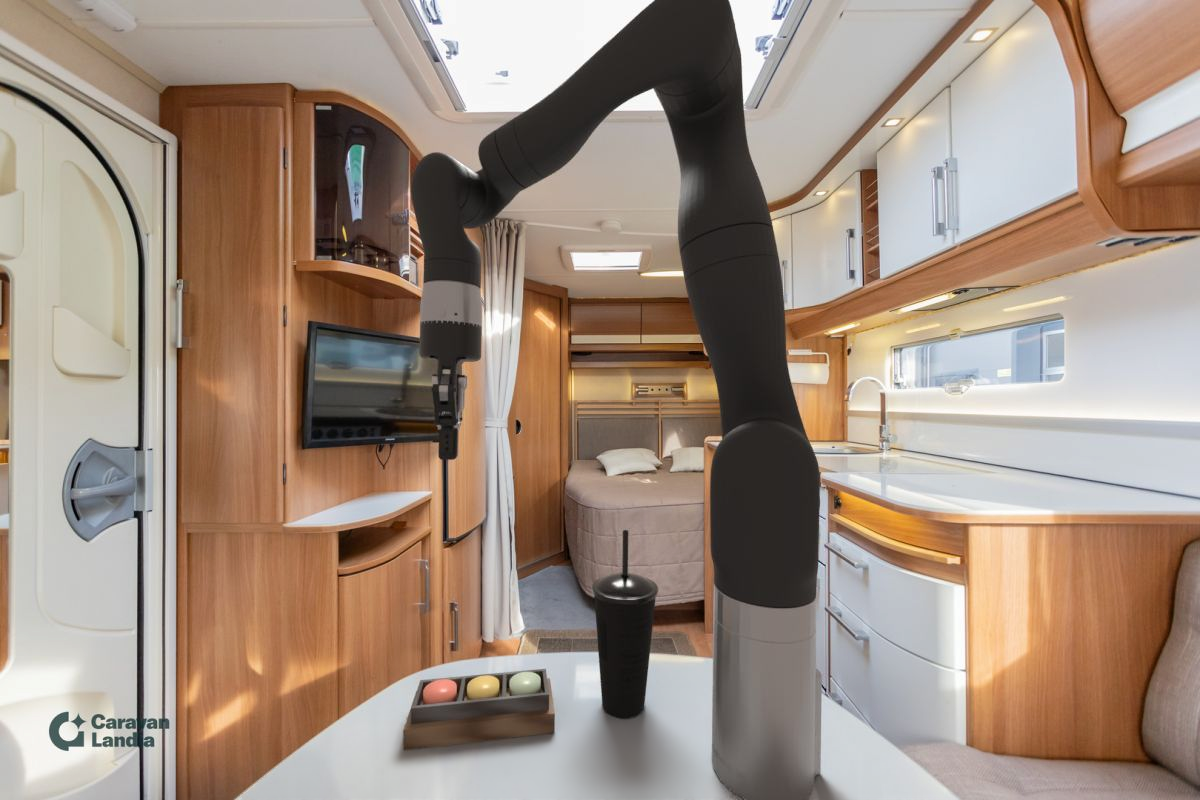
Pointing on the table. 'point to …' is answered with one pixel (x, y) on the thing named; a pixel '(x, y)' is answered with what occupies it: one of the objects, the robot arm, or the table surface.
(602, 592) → the drinking cup
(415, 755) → the table surface
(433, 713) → the toy traffic light
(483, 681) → the button ochre
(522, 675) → the button sage
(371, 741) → the table surface
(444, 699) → the button coral
